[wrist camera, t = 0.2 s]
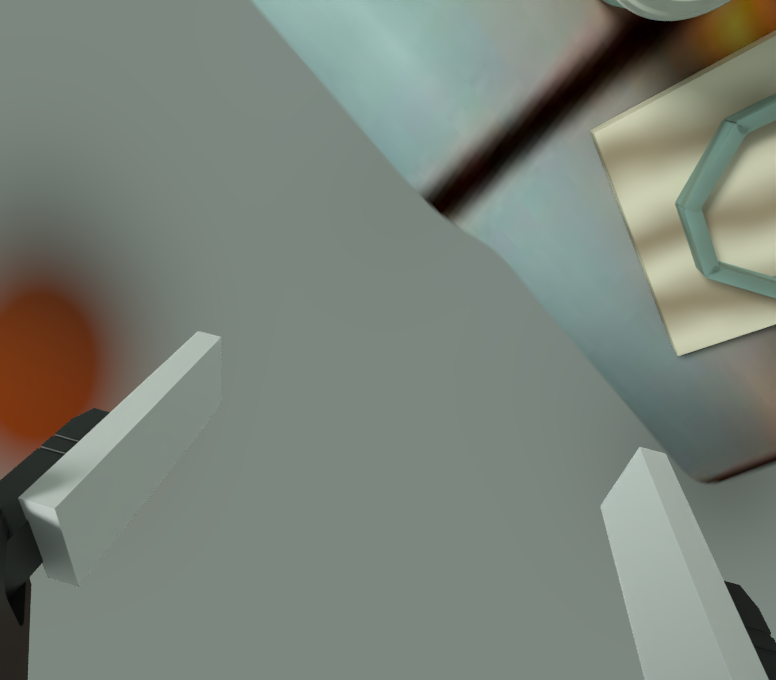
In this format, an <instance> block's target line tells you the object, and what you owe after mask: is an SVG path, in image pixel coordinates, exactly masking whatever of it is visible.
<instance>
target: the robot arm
mask: <svg viewBox="0 0 776 680" xmlns="http://www.w3.org/2000/svg"><path fill="white" fill-rule="evenodd" d="M221 367H222V366H221V337H219V336H215V335H211V334H207V333H203V332H199V331H198V332H197V333H196V334H194V335H193V336H192V337H191V338H190V339H189V340H188V341H187V342H186V343H185V344H184V345H183V346H181V347H180V348H179V349H178V350H177V351H176V352H175V353H174V354H173V355H172V356H171V357H170V358H169V359H167V360H166V361H165V362H164V363H163V364H162V365H161V366H160V367H159V368H158V369H157V370H156V371H154V372H153V373H152V374H151V375H150V376H149V377H148V378H147V379H146V380H145V381H144V382H143V383H142V384H141V385H139V386H138V387H137V388H136V389H135V390H134V391H133V392H132V393H131V394H130V395H129V396H128V397H127V398H125V399H124V400H123V401H122V402H121V403H120V404H119V405H118V406H117V407H116V408H115V409H114V410H112V411H111V412H106V411H103V410H99V409H96V408H94V409H92V410H89V411H87V412H85V413H83V414H82V415H80V416H77V417H75V418H73V419H71V420H70V421H69V422H68V423H67V424H66V425H64V426H63V427H62V428H61V429H60V430H59V431H57V432H56V433H55V436H54V437H53V436H52V437H50V438H49V439H48V440H47V441H46V442H45V443H43V444H42V445H41V448H40V449H37V450H35V451H34V452H33V453H32V454H31V455H29V456H28V457H27V458H26V459H25V460H24V461H22V462H21V463H20V464H19V465H18V466H17V467H15V468H14V469H13V470H12V471H11V472H10V473H8V474H7V475H6V476H5V477H4V478H3V479H1V480H0V680H27V679H28V654H29V627H30V604H31V582H30V578H29V577H30V576H31V575H32V574H33V572H34V571H35V570H36V569H37V568H38V567H39V566H40V565H41V563H43V566H44V569H45V571H46V574H47V577H48V578H52V579H55V580H58V581H62V582H65V583H69V584H72V585H75V586H78V587H79V586H80V585H81V584H82V583H83V581H84V580H85V579H86V577H87V576H88V575H89V574H90V572H91V571H92V570H93V568H94V567H95V566H96V565H97V563H98V562H99V561H100V559H101V558H102V557H103V555H104V554H105V553H106V552H107V550H108V549H109V548H110V547H111V545H112V544H113V543H114V541H115V540H116V539H117V538H118V536H119V535H120V534H121V532H122V531H123V530H124V529H125V527H126V526H127V525H128V524H129V522H130V521H131V520H132V518H133V517H134V516H135V515H136V513H137V512H138V511H139V509H140V508H141V507H142V506H143V504H144V503H145V502H146V500H147V499H148V498H149V496H150V495H151V494H152V493H153V491H154V490H155V489H156V488H157V486H158V485H159V484H160V482H161V481H162V480H163V479H164V477H165V476H166V475H167V473H168V472H169V471H170V470H171V468H172V467H173V466H174V465H175V463H176V462H177V461H178V459H179V458H180V457H181V455H182V454H183V453H184V452H185V450H186V449H187V448H188V446H189V445H190V444H191V443H192V441H193V440H194V439H195V438H196V436H197V435H198V434H199V432H200V431H201V430H202V428H203V427H204V426H205V425H206V423H207V422H208V421H209V419H210V418H211V417H212V416H213V414H214V413H215V412H216V411H217V409H218V408H219V407H220V405H221V404H222V374H221V373H222V371H221V370H222V368H221ZM600 507H601V510H602V514H603V518H604V522H605V526H606V530H607V534H608V538H609V542H610V546H611V550H612V554H613V557H614V561H615V565H616V569H617V573H618V577H619V581H620V585H621V589H622V593H623V597H624V600H625V604H626V608H627V612H628V616H629V620H630V624H631V627H632V632H633V636H634V640H635V644H636V647H637V651H638V655H639V659H640V663H641V667H642V671H643V675H644V679H645V680H776V642H775V640H774V638H772V637H771V636H770V634H771V632H770V630H769V628H768V626H767V624H766V622H765V620H764V618H763V616H762V614H761V612H760V610H759V608H758V607H757V606H756V605H755V603H754V602H753V601H752V600H751V599H750V597H749V596H748V595H747V594H746V592H745V591H744V590H743V589H742V587H741V586H740V585H737V584H734V583H730V582H726V581H723V578H722V576H721V574H720V572H719V570H718V567H717V565H716V563H715V561H714V559H713V557H712V554H711V552H710V550H709V548H708V546H707V543H706V541H705V539H704V537H703V535H702V532H701V530H700V528H699V526H698V524H697V521H696V519H695V517H694V515H693V513H692V511H691V508H690V506H689V504H688V502H687V500H686V498H685V495H684V493H683V491H682V489H681V486H680V484H679V482H678V480H677V478H676V475H675V473H674V472H673V469H672V467H671V464H670V462H669V460H668V458H667V456H666V454H665V453H661V452H658V451H654V450H650V449H646V448H642V447H639V449H638V450H637V452H636V453H635V455H634V456H633V458H632V459H631V461H630V462H629V464H628V465H627V467H626V468H625V470H624V471H623V473H622V475H621V476H620V477H619V479H618V481H617V482H616V483H615V485H614V486H613V488H612V489H611V491H610V492H609V494H608V496H607V497H606V498H605V500H604V502H603V503H602V504H601V506H600Z"/></svg>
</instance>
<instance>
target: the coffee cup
mask: <svg viewBox="0 0 776 680" xmlns="http://www.w3.org/2000/svg"><path fill="white" fill-rule="evenodd" d="M602 1H604V2H605V3H607V4H609V5H612V6H616V7H621V8H626V9H628V10H629V11H631V12H633V13H635V14H637V15H639V16H642V17H645V18H648V19H653V20H659V21H676V20H684V19H689V18H693V17H696V16H700V15H702V14H705V13H708V12H710V11H712V10H715V9H717V8H719V7H720V6H722V5H724V4H726V3H728V2H729V1H731V0H602Z"/></svg>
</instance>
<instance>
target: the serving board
mask: <svg viewBox="0 0 776 680" xmlns="http://www.w3.org/2000/svg"><path fill="white" fill-rule="evenodd" d="M590 133H591V136H592V138H593V141H594V144H595V146H596V149H597V151H598V154H599V157H600V159H601V162H602V165H603V167H604V170H605V172H606V175H607V178H608V180H609V183H610V186H611V188H612V191H613V193H614V196H615V199H616V201H617V204H618V206H619V209H620V212H621V214H622V217H623V220H624V222H625V225H626V227H627V230H628V233H629V235H630V238H631V241H632V243H633V246H634V248H635V251H636V254H637V256H638V259H639V262H640V264H641V267H642V269H643V272H644V275H645V277H646V280H647V283H648V285H649V288H650V290H651V293H652V296H653V298H654V301H655V304H656V306H657V309H658V311H659V314H660V317H661V319H662V322H663V324H664V327H665V330H666V332H667V335H668V338H669V340H670V343H671V345H672V347H673V349H674V350H675V352H676V354H677V355H678V356H680V355H683V354H686V353H689V352H692V351H695V350H699V349H702V348H705V347H708V346H711V345H714V344H717V343H720V342H723V341H726V340H729V339H732V338H735V337H738V336H741V335H744V334H747V333H751V332H754V331H757V330H760V329H763V328H766V327H769V326H772V325H775V324H776V30H774V31H772V32H771V33H769V34H767V35H765V36H763V37H761V38H759V39H758V40H756V41H754V42H752V43H750V44H748V45H747V46H745V47H743V48H741V49H739V50H737V51H735V52H734V53H732V54H730V55H728V56H726V57H724V58H723V59H721V60H719V61H717V62H715V63H713V64H712V65H710V66H708V67H706V68H704V69H702V70H700V71H699V72H697V73H695V74H693V75H691V76H689V77H688V78H686V79H684V80H682V81H680V82H678V83H676V84H675V85H673V86H671V87H669V88H667V89H665V90H664V91H662V92H660V93H658V94H656V95H654V96H653V97H651V98H649V99H647V100H645V101H643V102H641V103H640V104H638V105H636V106H634V107H632V108H630V109H629V110H627V111H625V112H623V113H621V114H619V115H617V116H616V117H614V118H612V119H610V120H608V121H606V122H605V123H603V124H601V125H599V126H597V127H595V128H593V129H592V130H590Z"/></svg>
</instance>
